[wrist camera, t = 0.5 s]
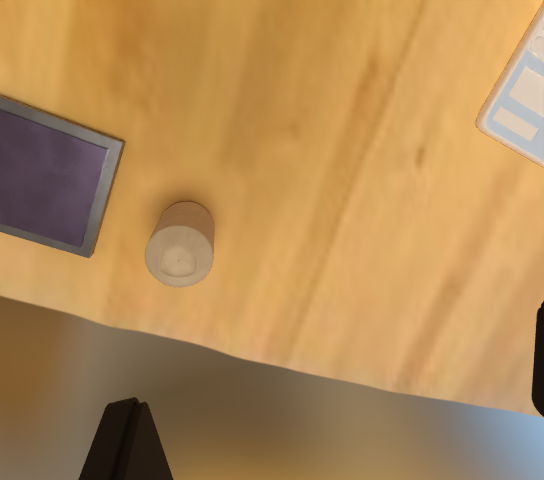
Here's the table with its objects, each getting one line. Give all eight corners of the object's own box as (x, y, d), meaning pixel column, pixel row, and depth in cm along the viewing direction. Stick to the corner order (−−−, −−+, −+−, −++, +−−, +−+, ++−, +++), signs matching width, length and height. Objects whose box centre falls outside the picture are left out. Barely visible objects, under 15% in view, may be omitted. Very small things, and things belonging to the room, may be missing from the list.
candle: (167, 255, 40) (151, 301, 31) (153, 206, 38) (132, 238, 29) (219, 246, 40) (219, 288, 31) (208, 196, 38) (204, 225, 29)
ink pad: (-15, 88, 33) (-26, 88, 31) (125, 141, 36) (121, 143, 34) (-38, 214, 36) (-49, 219, 34) (93, 253, 39) (87, 259, 37)
